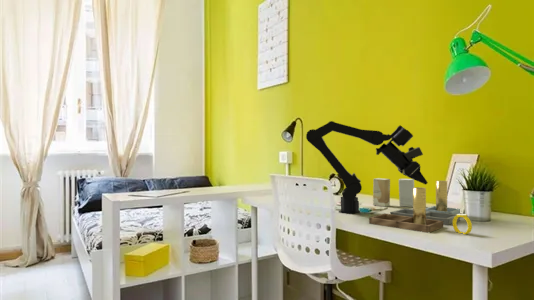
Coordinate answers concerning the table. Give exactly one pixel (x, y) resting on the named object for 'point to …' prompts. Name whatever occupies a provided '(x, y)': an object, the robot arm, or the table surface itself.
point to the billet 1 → (419, 205)
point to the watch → (466, 221)
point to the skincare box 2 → (406, 192)
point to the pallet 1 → (405, 222)
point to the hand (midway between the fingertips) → (424, 182)
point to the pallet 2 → (429, 215)
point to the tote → (449, 211)
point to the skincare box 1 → (381, 192)
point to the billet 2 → (441, 196)
